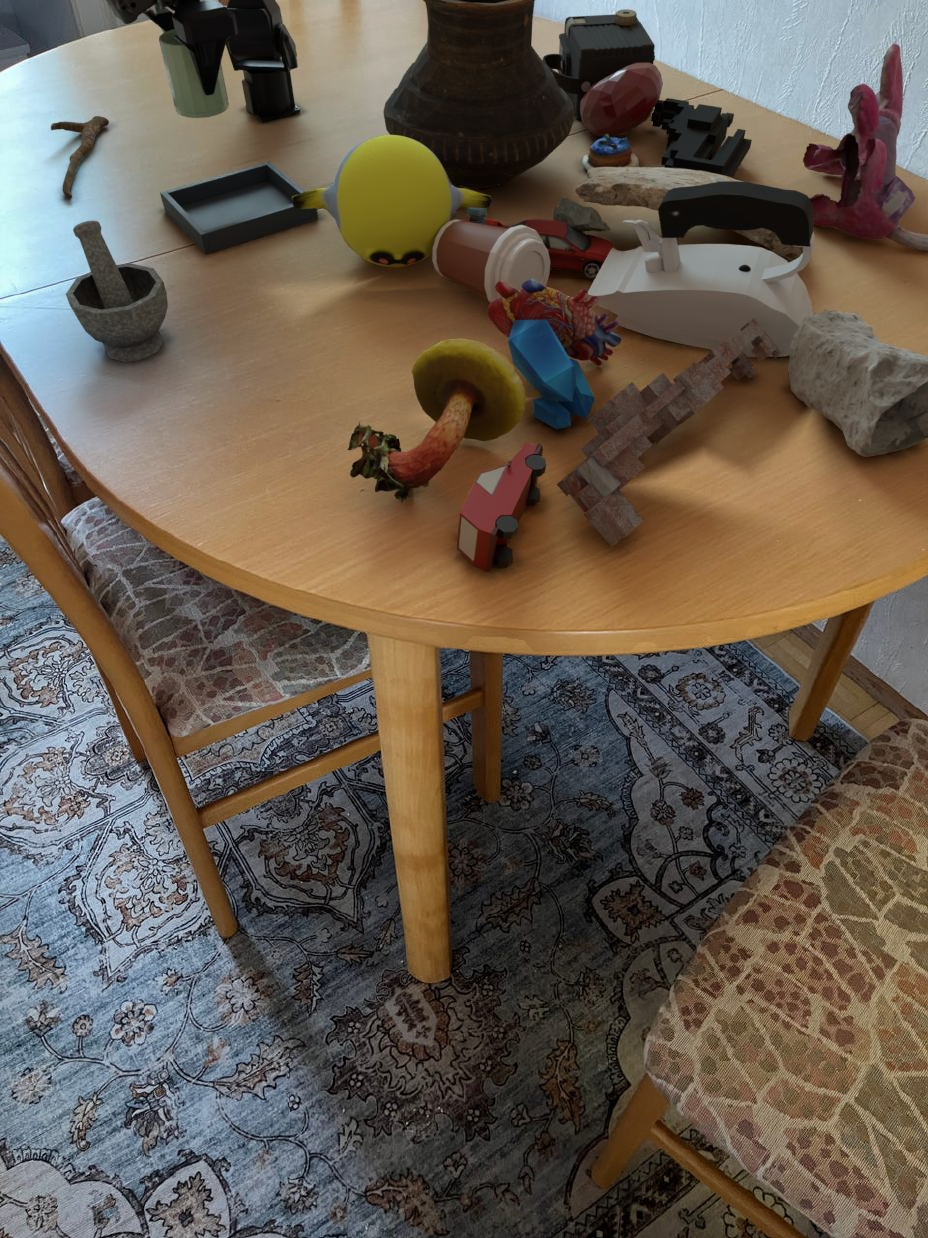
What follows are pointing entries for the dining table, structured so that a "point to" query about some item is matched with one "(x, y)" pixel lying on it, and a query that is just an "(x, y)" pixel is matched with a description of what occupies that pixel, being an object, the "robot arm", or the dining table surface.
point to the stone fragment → (662, 194)
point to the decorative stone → (860, 382)
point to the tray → (236, 207)
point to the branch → (88, 138)
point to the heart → (621, 100)
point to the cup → (190, 81)
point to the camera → (597, 51)
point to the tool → (699, 137)
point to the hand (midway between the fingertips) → (198, 85)
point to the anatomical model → (557, 318)
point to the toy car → (569, 246)
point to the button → (479, 216)
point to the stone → (579, 216)
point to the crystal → (550, 373)
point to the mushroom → (444, 414)
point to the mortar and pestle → (117, 300)
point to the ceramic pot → (481, 93)
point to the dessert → (610, 154)
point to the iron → (712, 268)
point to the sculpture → (650, 429)
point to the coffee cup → (490, 256)
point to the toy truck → (499, 508)
